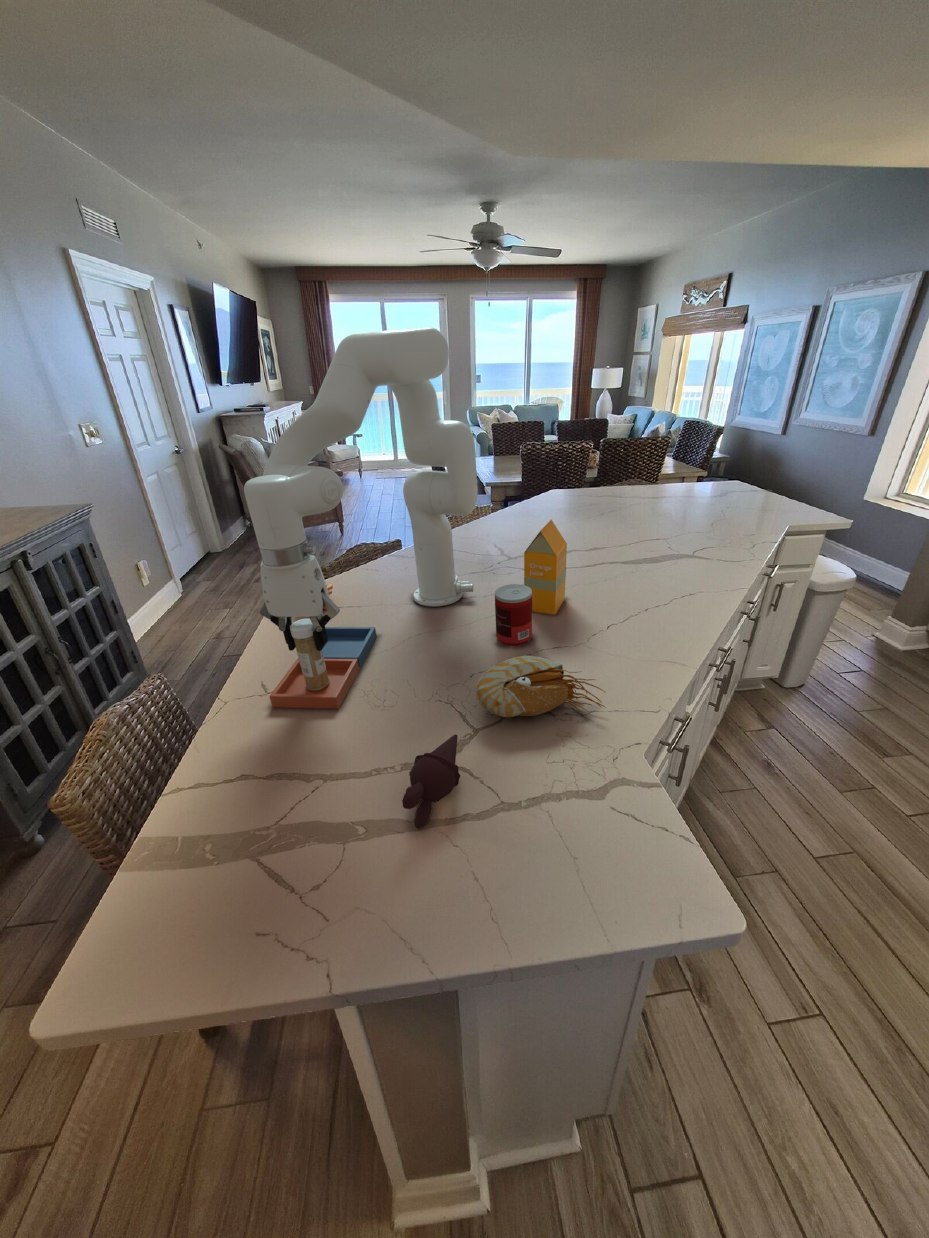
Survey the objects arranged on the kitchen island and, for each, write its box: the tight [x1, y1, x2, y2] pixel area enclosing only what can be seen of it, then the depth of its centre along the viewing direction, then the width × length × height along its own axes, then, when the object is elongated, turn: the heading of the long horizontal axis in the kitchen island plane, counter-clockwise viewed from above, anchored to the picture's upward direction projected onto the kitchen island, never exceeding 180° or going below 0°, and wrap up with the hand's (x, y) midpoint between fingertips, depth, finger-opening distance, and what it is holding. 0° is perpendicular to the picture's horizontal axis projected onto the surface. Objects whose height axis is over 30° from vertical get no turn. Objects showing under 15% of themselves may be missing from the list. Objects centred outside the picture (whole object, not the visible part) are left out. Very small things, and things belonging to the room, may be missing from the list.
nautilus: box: [475, 655, 607, 718], centre depth 83 cm, size 8×22×15 cm
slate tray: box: [322, 626, 378, 669], centre depth 106 cm, size 13×13×2 cm
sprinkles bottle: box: [290, 618, 330, 691], centre depth 91 cm, size 5×5×13 cm
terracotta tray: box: [268, 657, 360, 710], centre depth 94 cm, size 13×13×2 cm
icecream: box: [401, 733, 461, 830], centre depth 69 cm, size 7×7×15 cm
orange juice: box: [523, 519, 568, 616], centre depth 115 cm, size 8×9×20 cm
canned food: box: [494, 583, 533, 647], centre depth 104 cm, size 8×8×11 cm
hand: (308, 645), depth 90 cm, fingers closed on sprinkles bottle, 4 cm apart
